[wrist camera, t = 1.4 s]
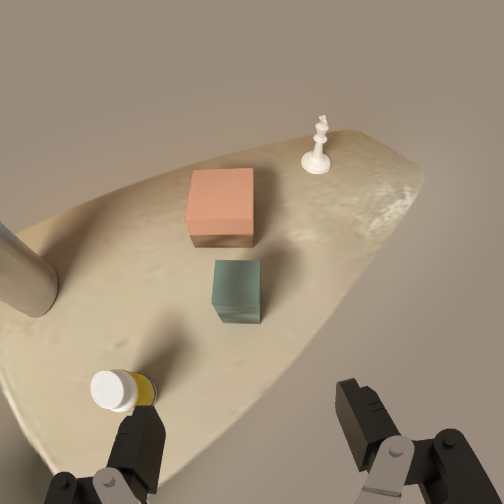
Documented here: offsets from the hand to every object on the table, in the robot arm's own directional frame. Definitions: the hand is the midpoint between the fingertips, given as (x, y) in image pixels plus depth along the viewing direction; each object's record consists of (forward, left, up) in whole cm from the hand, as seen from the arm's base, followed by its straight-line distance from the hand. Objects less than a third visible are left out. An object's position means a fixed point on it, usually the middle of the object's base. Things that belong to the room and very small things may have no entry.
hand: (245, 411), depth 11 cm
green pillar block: (-2, +11, -21) cm, 24 cm away
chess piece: (+9, +35, -22) cm, 42 cm away
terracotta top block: (-5, +24, -18) cm, 30 cm away
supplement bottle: (-14, -1, -22) cm, 26 cm away
